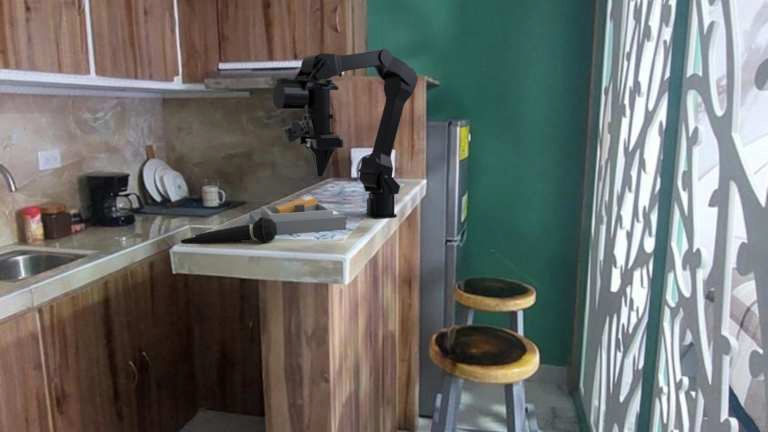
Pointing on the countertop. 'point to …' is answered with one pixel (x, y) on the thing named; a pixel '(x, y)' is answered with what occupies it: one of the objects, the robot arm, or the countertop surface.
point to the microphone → (239, 233)
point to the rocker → (290, 206)
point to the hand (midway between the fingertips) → (319, 176)
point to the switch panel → (302, 219)
